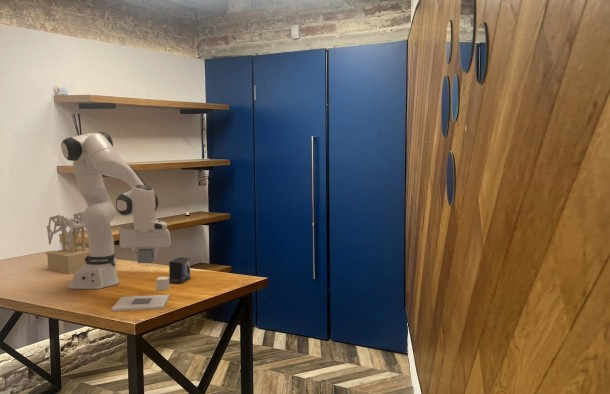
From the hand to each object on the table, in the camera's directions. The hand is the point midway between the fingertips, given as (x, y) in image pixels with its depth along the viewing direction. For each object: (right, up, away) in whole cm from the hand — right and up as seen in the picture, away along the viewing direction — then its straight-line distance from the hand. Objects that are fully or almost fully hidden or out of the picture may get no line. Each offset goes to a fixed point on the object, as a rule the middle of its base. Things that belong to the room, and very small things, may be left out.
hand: (146, 257), depth 203 cm
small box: (+5, -16, +36) cm, 40 cm away
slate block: (0, -2, 0) cm, 2 cm away
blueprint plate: (-2, -19, 0) cm, 19 cm away
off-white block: (+1, -17, +22) cm, 28 cm away
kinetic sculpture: (-60, -14, +63) cm, 88 cm away
